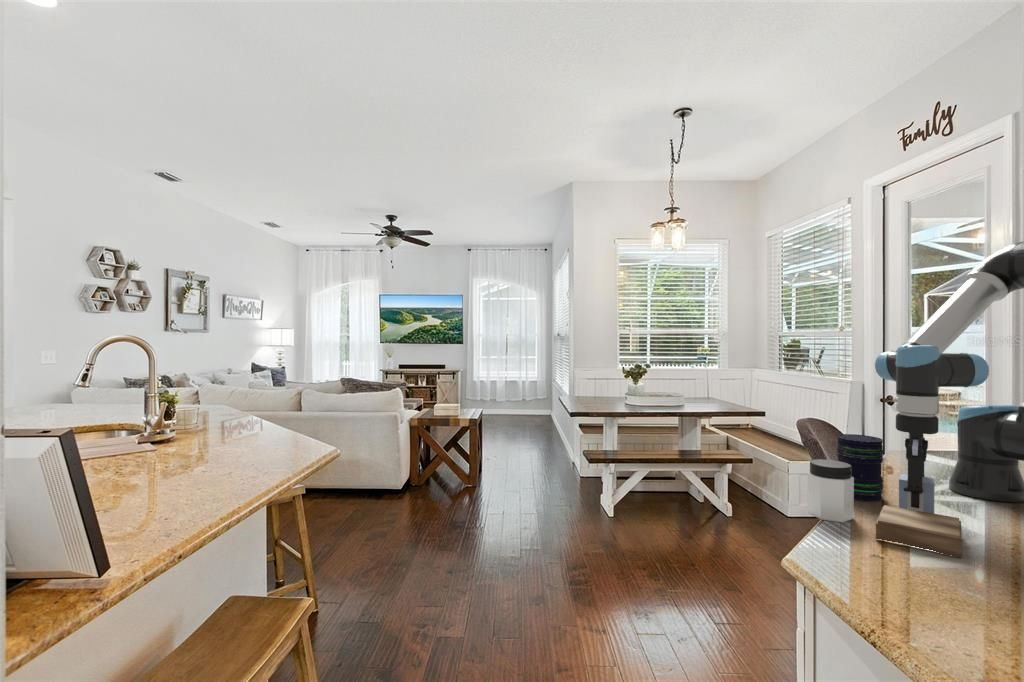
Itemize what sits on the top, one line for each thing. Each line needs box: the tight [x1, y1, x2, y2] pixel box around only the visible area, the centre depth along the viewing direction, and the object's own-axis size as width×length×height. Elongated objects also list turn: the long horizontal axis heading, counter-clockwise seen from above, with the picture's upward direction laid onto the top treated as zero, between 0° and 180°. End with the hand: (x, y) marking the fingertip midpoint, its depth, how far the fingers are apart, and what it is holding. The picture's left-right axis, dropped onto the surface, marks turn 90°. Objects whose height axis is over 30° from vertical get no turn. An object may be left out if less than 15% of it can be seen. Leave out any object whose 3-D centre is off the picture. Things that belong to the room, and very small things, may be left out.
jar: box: [807, 458, 855, 524], centre depth 118 cm, size 9×8×12 cm
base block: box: [875, 504, 963, 558], centre depth 104 cm, size 13×13×4 cm
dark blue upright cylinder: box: [836, 433, 884, 503], centre depth 132 cm, size 10×10×15 cm
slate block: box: [898, 473, 936, 514], centre depth 115 cm, size 6×6×9 cm
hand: (916, 517), depth 116 cm, fingers closed on slate block, 6 cm apart
